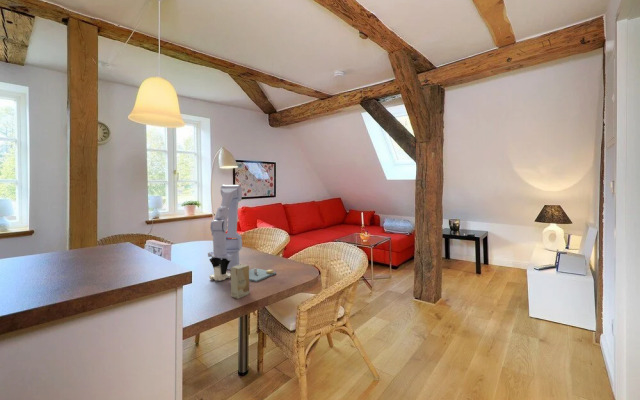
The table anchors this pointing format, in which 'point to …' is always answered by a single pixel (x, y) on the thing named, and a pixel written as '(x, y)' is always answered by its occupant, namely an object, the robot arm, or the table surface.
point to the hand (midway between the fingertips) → (220, 273)
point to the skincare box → (239, 281)
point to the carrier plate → (259, 274)
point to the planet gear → (219, 274)
